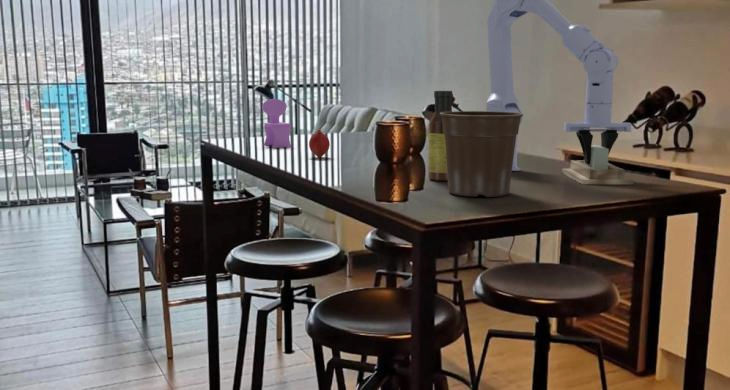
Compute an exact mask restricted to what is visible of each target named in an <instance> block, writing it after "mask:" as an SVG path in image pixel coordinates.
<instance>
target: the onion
mask: <svg viewBox="0 0 730 390" xmlns="http://www.w3.org/2000/svg"><path fill="white" fill-rule="evenodd" d="M330 145H331V144H330V140H329V137H328V136H327V135H326V134H325V133H324V132H322V129H320V128H319V129H317V131H316V132H315V133H313V134H312V135H311V137H310V139H309V142H308V146H309V150H310V151H311V152H312V153H313V155H315V156H316V157H317V158H322V157H323V156H325V154H326V153H327V152H328V151H329V149H330Z"/></svg>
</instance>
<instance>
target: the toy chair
mask: <svg viewBox="0 0 730 390" xmlns="http://www.w3.org/2000/svg"><path fill="white" fill-rule="evenodd" d="M287 106H288V105H287V103H286V102H284V101H283V100H281V99H278V98H270V99H267V100H265V101H264V102H263V104H262V106H261V107H262V111H263V112H264V113H265V114H266V115H267V116H269V122H264V127H263V128H264V130H265V135H266V137H265V140H264V143H263V146H272V149H275V148H276V149H278V148H291V147H292V144H291V141H290V134H291V129H292V126H291V125H292V124H291V123H290V122H289V123H288V122H284V121H281V122H280V117H281V116H282V115H284V114H285V112H286V110H287Z"/></svg>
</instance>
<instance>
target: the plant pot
mask: <svg viewBox="0 0 730 390" xmlns="http://www.w3.org/2000/svg"><path fill="white" fill-rule="evenodd" d="M440 116H442V123H443V133H444V134H445V143H446V160H447V177H448V180H447V189H448V193H449V194H453V195H455V196H461V197H473V198H476V197H478V196H484V197H486V198H494V197H495V198H498V197H504V196H508V194H510V189H511V180H512V172H513V171H512V165H513V157H514V149H515V142H516V135H517V134H518V135H519V129H520V126H519V124H520V118H521V117H522V118H523V117H524V114H523V113H522V112H521V113H514V112H488V111H486V110H485V111H483V110H475V111H474V110H471V111H469V110H467V111H466V110H465V111H464V110H461V111H457V110H456V111H452V112H441V113H440ZM520 125H521V124H520Z"/></svg>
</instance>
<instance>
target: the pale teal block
mask: <svg viewBox="0 0 730 390" xmlns="http://www.w3.org/2000/svg"><path fill="white" fill-rule="evenodd" d="M608 155H610V153H609V149H607V148H605V147H602V146H601V145H599V144H592V145H591V161H590V164H586V163H585V161H584V164H585V165H587V166H589V167H592V168H594V169H596V170H608V163H609V156H608Z"/></svg>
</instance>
